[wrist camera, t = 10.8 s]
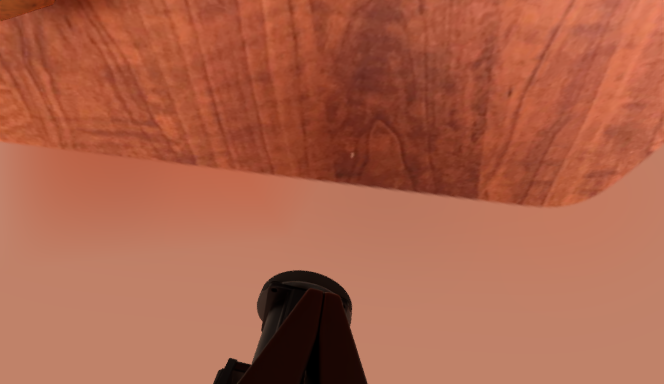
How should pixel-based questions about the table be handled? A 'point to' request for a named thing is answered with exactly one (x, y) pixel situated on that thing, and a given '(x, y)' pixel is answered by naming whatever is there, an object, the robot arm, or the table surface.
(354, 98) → the table surface
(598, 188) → the table surface
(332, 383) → the robot arm
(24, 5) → the potato
